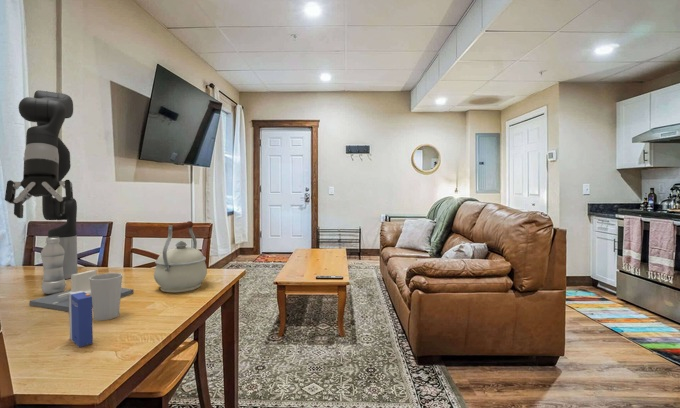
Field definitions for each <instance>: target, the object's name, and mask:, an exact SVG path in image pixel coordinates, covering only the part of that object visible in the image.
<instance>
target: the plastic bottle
mask: <svg viewBox="0 0 680 408" xmlns="http://www.w3.org/2000/svg"><path fill="white" fill-rule="evenodd" d="M59 242H60V241H59V237H48V236H47V237H45V244H46V245H45V246H44V247H43V248H42V249H41V252H40V256H41V260H42V261H41V262H42V268H43V269H42V270H43V271H42V272H43V276H42V282H41V283H42V284H41V291H42V293H43V294H44V295H53V294H57V293H60V292H64V291H66V285H67V284H66V279H64V274H63V260H64V253H65V251H64V249H63V248H62V246H61V245H59Z"/></svg>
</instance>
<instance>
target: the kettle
mask: <svg viewBox="0 0 680 408" xmlns="http://www.w3.org/2000/svg"><path fill="white" fill-rule="evenodd" d="M193 226H194V222H193V221H191V220H190V221H189V220H188V221H184V222H179V223H175V224H169V225H167V227H166V228H167V231H168V232H167V233H168V234H167V238H166V239H165V240H166V241H165V243H164V246H163V248H162V252H161V253H160V254H159V255H158V257H157V259H155V260H154V263H155V268H154V271H153V279H154V281H155V282H156V285H159V286H160V290H161V291H162V292H164V293H173V294H175V293H177V294H178V293H184V292H190V291H193V290H197V289H199V288H200V287H201V286H202V282H203V281H204V280H205V279H206V277H207V274H208V267H207V264H206V259H207V257H206V256H204V254H203V253H202V252H201V250H199V249H198V248H197V247H198V245H197V244H198V243H197V238H196V236H195V234H194V233H195V232H194V231H193ZM185 229H188V232H189V235H190V237H191V239H192V245H193V246H192V247H189V246H187V243H186V241H185V242H184V241H183V240H180V241H178V242H176V244H175V247H173V248H169V245H170V243H171V240H172V237H173V233H174V232H175V231H182V230H185ZM168 248H169V249H168Z"/></svg>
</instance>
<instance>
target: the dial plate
mask: <svg viewBox="0 0 680 408" xmlns="http://www.w3.org/2000/svg"><path fill="white" fill-rule="evenodd" d="M70 291H71V289H68V290H64V291H63V292H60V293H56V294H48V295H46V296H42V297H38V298H35V299H31V300H29V306H31V307H38V308H41V309H42V308H43V309H48V310H55V311H62V312H68V313H69V295H67V296H64V297H58V295H61V294H64V293H68V292H70ZM134 291H135V290H134V289H133V288H125V287H121V296H120V299H121V298H124V297H127V296H130V295H134ZM92 308H93V306H92Z"/></svg>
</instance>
